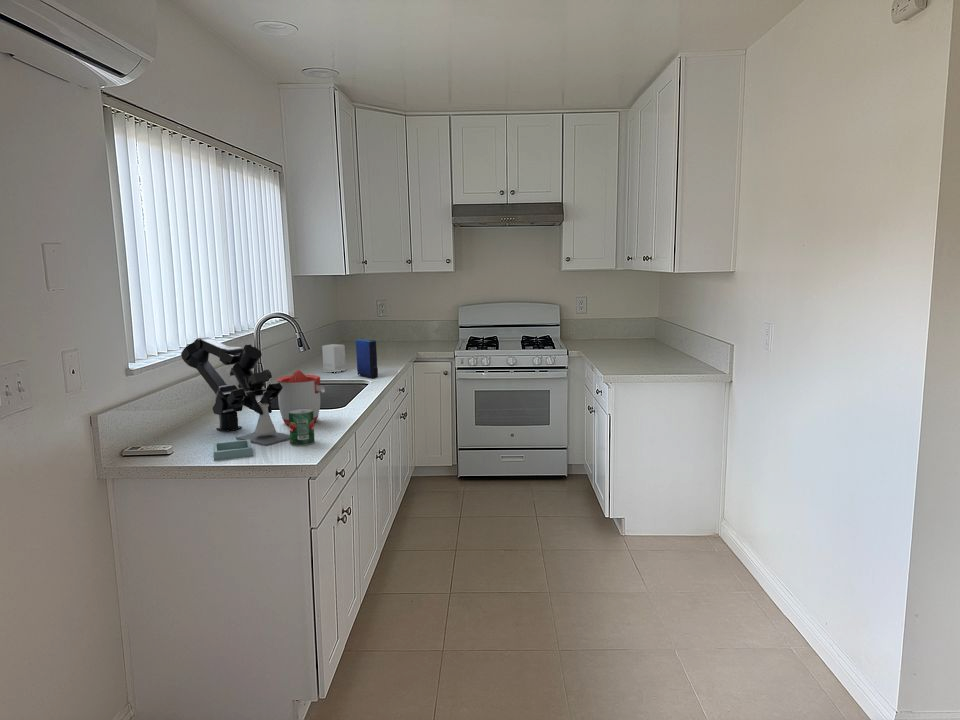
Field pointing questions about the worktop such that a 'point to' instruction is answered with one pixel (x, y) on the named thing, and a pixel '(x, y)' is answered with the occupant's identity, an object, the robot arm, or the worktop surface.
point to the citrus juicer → (299, 394)
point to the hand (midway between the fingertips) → (266, 413)
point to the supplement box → (333, 357)
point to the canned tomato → (301, 426)
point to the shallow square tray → (232, 449)
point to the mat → (265, 438)
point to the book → (366, 358)
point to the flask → (264, 422)
